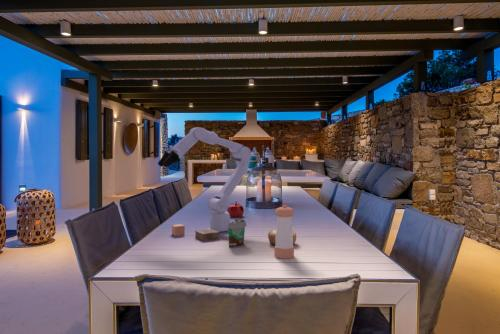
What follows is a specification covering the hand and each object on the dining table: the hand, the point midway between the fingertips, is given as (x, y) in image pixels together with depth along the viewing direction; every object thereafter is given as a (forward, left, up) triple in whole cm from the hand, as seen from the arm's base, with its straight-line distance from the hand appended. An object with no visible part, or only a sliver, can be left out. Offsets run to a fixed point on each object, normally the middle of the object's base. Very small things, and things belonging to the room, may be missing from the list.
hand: (161, 165), depth 174 cm
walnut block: (-17, +13, -33) cm, 39 cm away
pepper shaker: (-31, +53, -32) cm, 69 cm away
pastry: (-41, +37, -33) cm, 64 cm away
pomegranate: (-54, -31, -33) cm, 70 cm away
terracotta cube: (-8, 0, -32) cm, 33 cm away
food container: (-24, +30, -33) cm, 50 cm away
